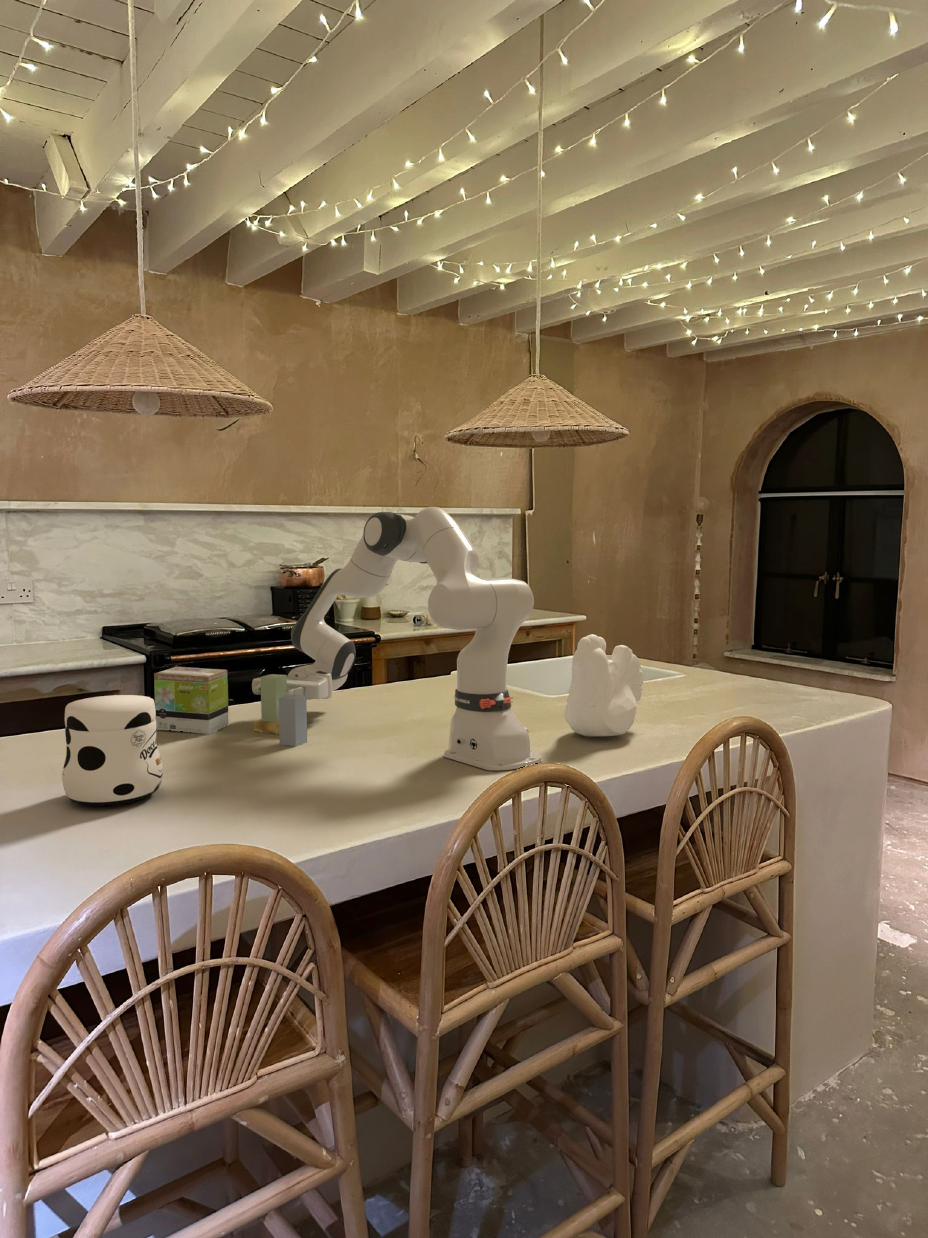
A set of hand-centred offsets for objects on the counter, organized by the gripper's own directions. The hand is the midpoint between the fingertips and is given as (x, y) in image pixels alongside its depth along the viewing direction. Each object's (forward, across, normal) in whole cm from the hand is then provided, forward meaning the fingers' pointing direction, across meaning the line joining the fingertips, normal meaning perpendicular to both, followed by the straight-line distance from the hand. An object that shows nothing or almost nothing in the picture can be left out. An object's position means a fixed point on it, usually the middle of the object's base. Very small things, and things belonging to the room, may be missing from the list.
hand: (271, 692), depth 211 cm
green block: (-1, 0, +7) cm, 7 cm away
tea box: (+6, -20, +10) cm, 23 cm away
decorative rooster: (-31, +77, +10) cm, 84 cm away
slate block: (+8, +12, +10) cm, 17 cm away
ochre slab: (-1, 0, +10) cm, 10 cm away
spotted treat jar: (+55, +5, +10) cm, 56 cm away
